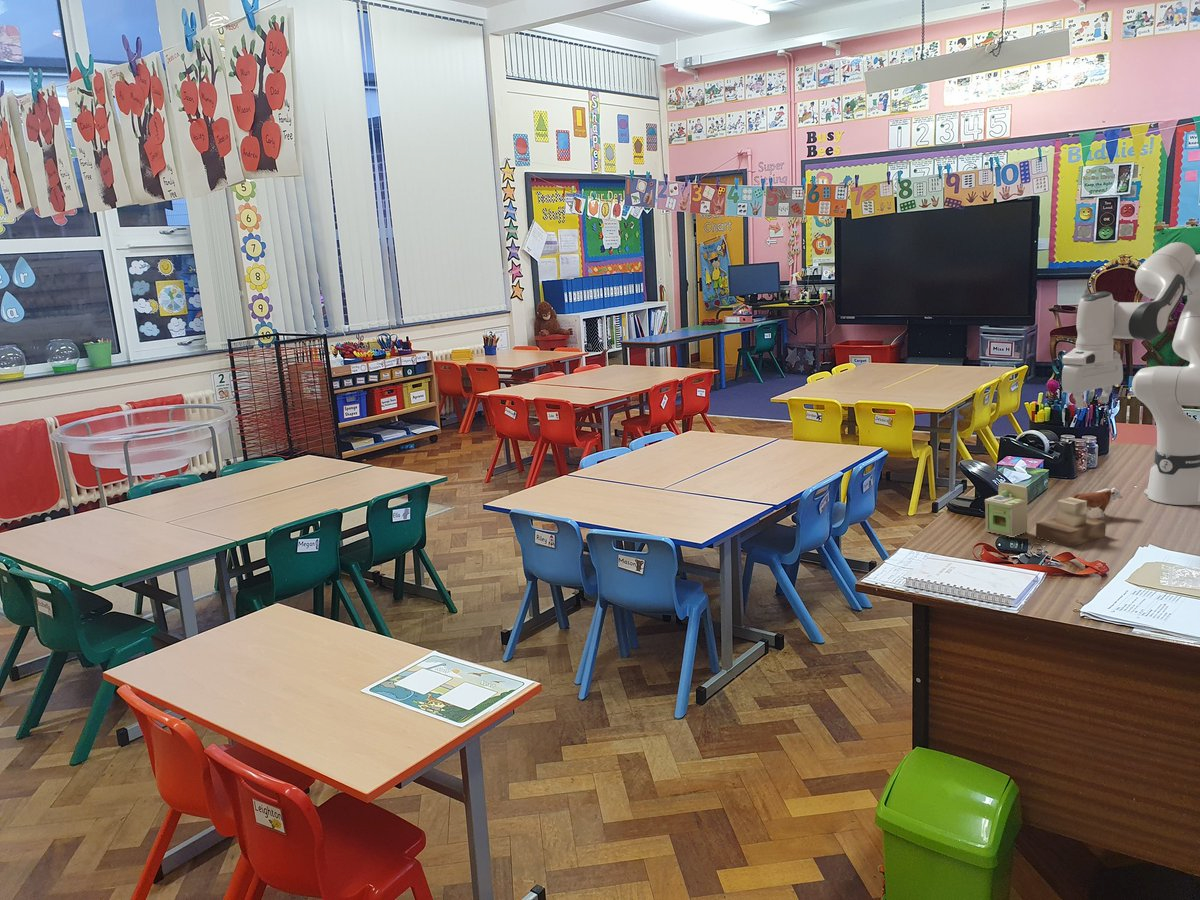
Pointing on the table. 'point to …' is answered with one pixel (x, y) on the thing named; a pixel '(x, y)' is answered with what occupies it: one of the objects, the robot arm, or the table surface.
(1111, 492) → the bull figurine
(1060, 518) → the maple block
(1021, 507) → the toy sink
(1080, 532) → the base block
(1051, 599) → the table surface
